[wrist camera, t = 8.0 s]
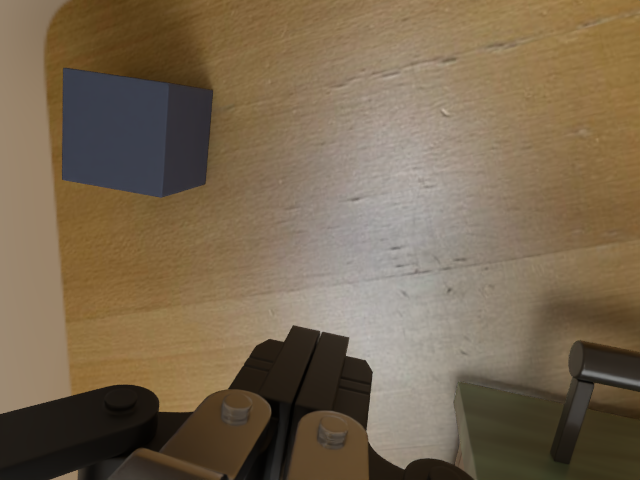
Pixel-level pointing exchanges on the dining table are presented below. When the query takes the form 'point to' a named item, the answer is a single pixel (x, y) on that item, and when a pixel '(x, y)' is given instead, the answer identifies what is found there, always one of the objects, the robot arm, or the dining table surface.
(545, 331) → the dining table surface
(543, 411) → the drawer
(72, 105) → the block
